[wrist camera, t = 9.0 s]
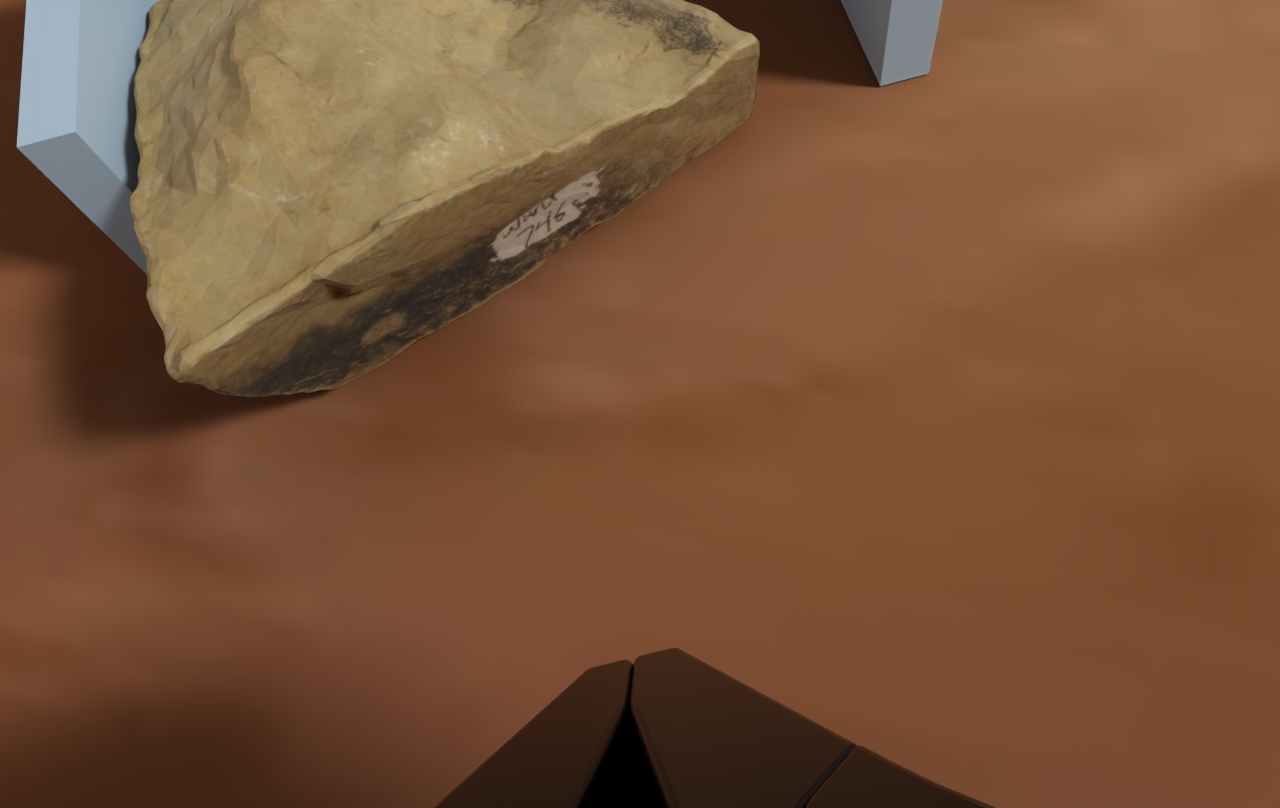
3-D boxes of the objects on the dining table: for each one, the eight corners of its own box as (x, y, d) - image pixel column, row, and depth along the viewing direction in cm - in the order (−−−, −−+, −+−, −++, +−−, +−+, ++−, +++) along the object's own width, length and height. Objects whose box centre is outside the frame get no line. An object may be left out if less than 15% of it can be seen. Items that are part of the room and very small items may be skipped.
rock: (761, 52, 23) (425, 294, 25) (521, -332, 19) (158, -1, 22) (875, 213, 13) (322, 572, 16) (444, -485, 10) (-182, 132, 12)
